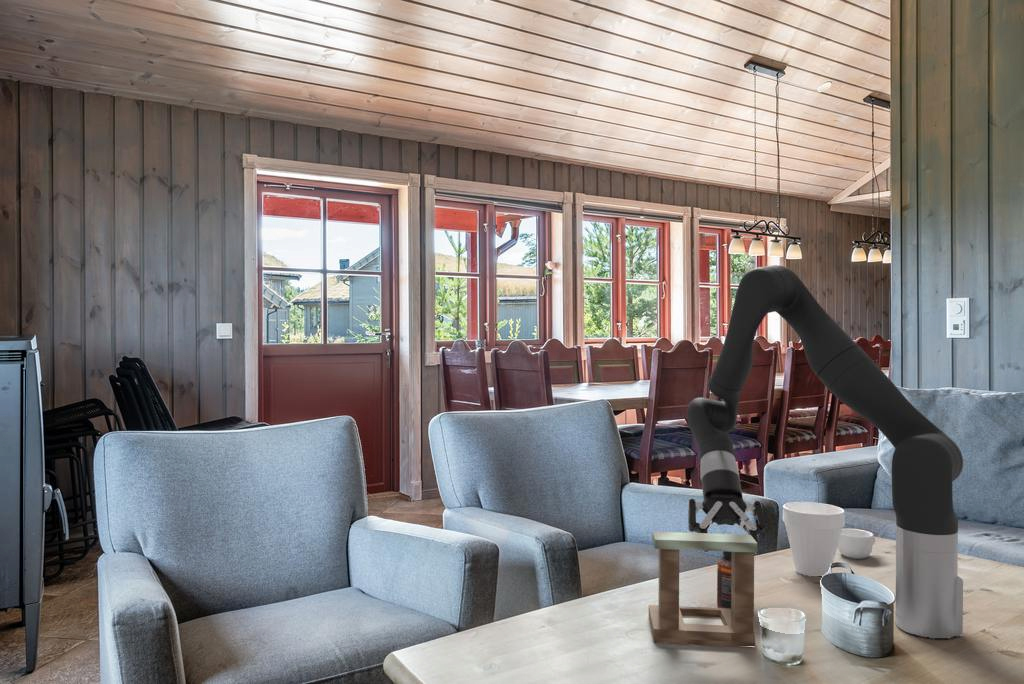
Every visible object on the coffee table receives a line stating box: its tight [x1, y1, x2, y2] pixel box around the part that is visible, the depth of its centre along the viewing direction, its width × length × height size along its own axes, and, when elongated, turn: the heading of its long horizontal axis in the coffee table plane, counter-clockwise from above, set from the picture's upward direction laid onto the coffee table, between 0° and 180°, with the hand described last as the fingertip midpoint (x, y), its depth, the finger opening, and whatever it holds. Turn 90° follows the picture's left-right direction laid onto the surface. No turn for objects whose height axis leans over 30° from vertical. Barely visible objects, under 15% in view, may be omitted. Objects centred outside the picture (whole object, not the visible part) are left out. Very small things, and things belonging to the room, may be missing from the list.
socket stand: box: [648, 531, 758, 648], centre depth 124 cm, size 16×12×17 cm
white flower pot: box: [782, 501, 846, 577], centre depth 157 cm, size 12×12×14 cm
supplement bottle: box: [716, 551, 731, 609], centre depth 134 cm, size 6×6×11 cm
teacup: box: [837, 528, 876, 560], centre depth 169 cm, size 10×8×5 cm
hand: (730, 550), depth 139 cm, fingers open, 8 cm apart
